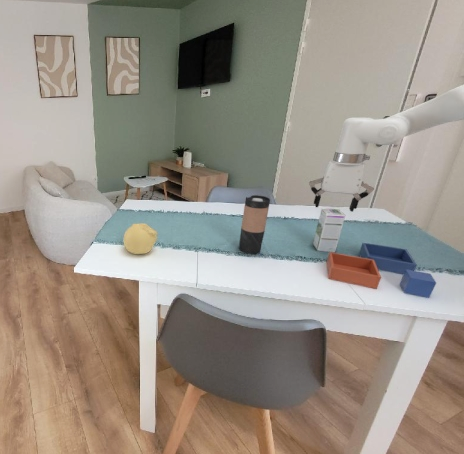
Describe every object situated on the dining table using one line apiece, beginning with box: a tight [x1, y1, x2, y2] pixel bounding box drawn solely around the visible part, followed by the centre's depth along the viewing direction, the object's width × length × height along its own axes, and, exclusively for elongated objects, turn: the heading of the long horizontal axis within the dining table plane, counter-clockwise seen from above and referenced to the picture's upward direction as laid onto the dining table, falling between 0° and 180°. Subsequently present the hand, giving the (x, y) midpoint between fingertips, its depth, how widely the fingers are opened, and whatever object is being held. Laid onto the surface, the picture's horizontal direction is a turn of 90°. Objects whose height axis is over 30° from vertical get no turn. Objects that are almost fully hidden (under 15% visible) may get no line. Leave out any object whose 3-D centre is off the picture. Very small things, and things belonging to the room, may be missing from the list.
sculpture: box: [123, 222, 158, 255], centre depth 109 cm, size 11×12×11 cm
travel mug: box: [238, 194, 271, 255], centre depth 104 cm, size 8×8×20 cm
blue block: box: [399, 270, 437, 299], centre depth 81 cm, size 5×5×5 cm
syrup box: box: [312, 208, 346, 253], centre depth 103 cm, size 6×6×14 cm
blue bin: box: [358, 242, 417, 275], centre depth 94 cm, size 11×11×4 cm
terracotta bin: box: [326, 252, 382, 290], centre depth 89 cm, size 11×11×4 cm
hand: (333, 208), depth 100 cm, fingers open, 9 cm apart
